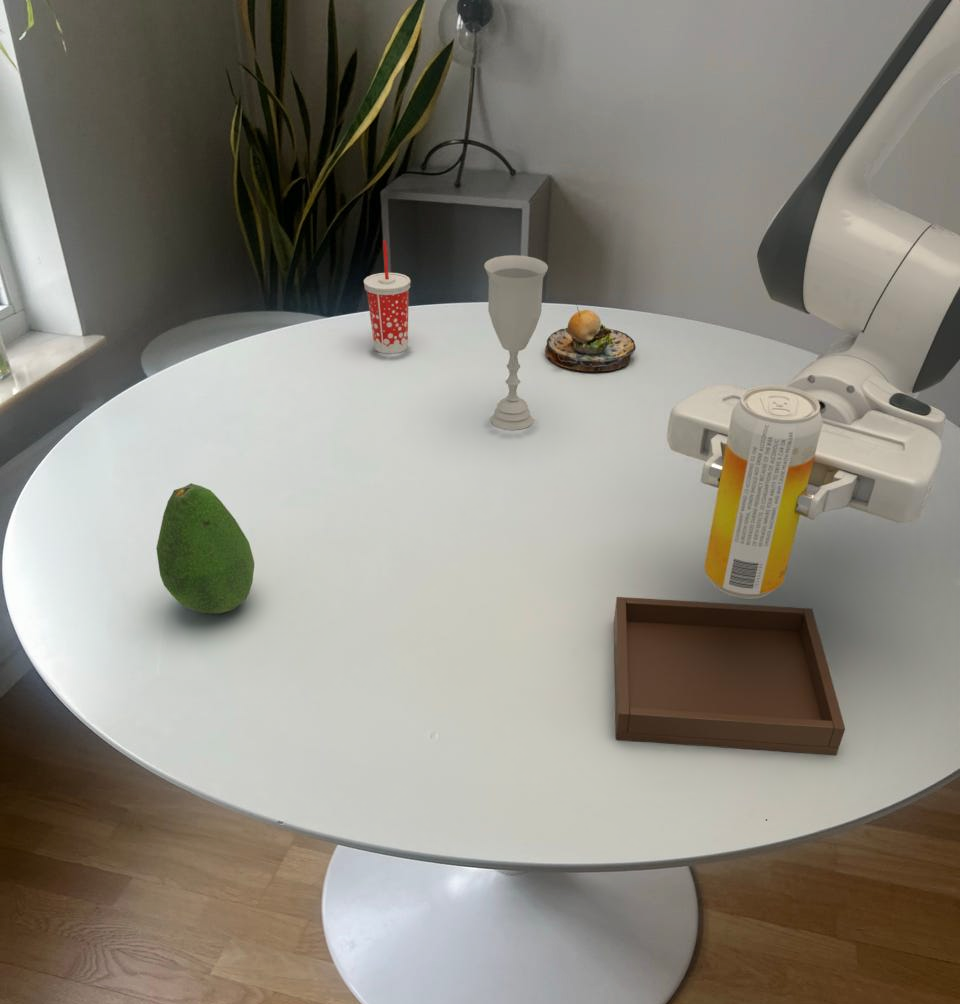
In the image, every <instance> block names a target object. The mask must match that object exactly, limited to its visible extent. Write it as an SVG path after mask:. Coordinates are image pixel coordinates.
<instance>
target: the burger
mask: <svg viewBox="0 0 960 1004" xmlns="http://www.w3.org/2000/svg"><path fill="white" fill-rule="evenodd" d="M575 304H576V308H577V312H575V313H574V314H572V316H571V317H570V319H569V321H568V324H567V327H565V328H560V329H558V330H556V331H555V332H553V333H551V335H549V337H548V338H547V340H546V345H545V356H546V357H547V358H550V361H551V362H552V363H553V364H555V365H558V366H560V367H562V368H566V369H570V370H575V371H582V372H610V371H615V370H619V369H621V368H622V367H626V366H628V365H629V363H630V361H631V360H630V359H631V358H632V355H633V353H634V352H635V351H636V349H637V347H636V343H635V340H634V339H633V338H632V337H631V336H629V335H628V334H627V333H625V332H623V331H620V330H617V329H612V328H607V327H606V326H605V325H604V324H602V321H601V319H600V315H598V314H597V313H596V312H594V311H592V310H590V309H583V310H579V308H578V304H577V303H575Z"/></svg>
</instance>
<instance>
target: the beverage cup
mask: <svg viewBox="0 0 960 1004" xmlns="http://www.w3.org/2000/svg"><path fill="white" fill-rule="evenodd" d="M382 247H383V249H382V250H383V264H384V265H383V267H384V272H379V273H374V274H371V275H368V276H366V277H365V278H364V279H363V285H364V290H365V291H366V295H367V303H368V310H369V318H370V325H371V326H370V327H371V332H372V342H373V347H374V350H375V351H376V352H379V353H382V354H389V355H390V354H391V355H392V354H398V353H399V354H400V353H402V352H404V351H406V350H407V349H408V347H409V298H410V297H409V296H410V295H409V294H410V288H411V283H412V282H411V281H412V280H411V278H410V277H409V276H407V275H406V274H402V273H398V272H389V259H388V257H389V256H388V240H386V239H384V240H382Z"/></svg>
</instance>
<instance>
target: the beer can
mask: <svg viewBox="0 0 960 1004" xmlns="http://www.w3.org/2000/svg"><path fill="white" fill-rule="evenodd" d="M821 428H822V418H821V414H820V404H819V402H818V401H817V399H816V398H814V397H813V396H812V395H810V394H808V393H806V392H804V391H801V390H799V389H795V388H791V387H786V386H785V385H776V384H775V385H773V384H771V385H770V384H767V385H759V386H755V387H751V388H747V391H745V392H744V393H743V394H742V396H741V399H740V400H739V402H738V403H737V404H736V406H735V407H734V408H733V410H732V415H731V421H730V426H729V432H728V438H727V443H726V449H725V454H724V460H723V465H722V471H721V477H720V482H719V488H717V495H716V498H715V506H714V511H713V515H712V522H711V527H710V532H709V538H708V545H707V550H706V555H705V561H704V571H705V574H706V576H707V577H708V578H709V580H710V582H711V583H712V585H713V586H714V587H715V588H716V589H717V590H719V591H720V592H722V593H723V594H726V595H728V596H731V597H734V598H739V599H747V600H749V599H750V600H751V599H759V598H763V597H766V596H768V595H770V594H771V593H772V592H773V591H775V590H777V589H778V588H779V587H780V586H782V584H783V583H784V581H785V577H786V573H787V570H788V569H787V568H788V566H789V562H790V557H791V553H792V549H793V545H794V541H795V537H796V533H797V528H798V524H799V521H800V516H801V515H799V514H796V513H795V508H796V507H797V506H798V504H797V500H798V497H799V495H800V494H801V492H803V491H804V490H805V489H806V487H807V484H808V480H809V476H810V472H811V468H812V464H813V460H814V456H815V452H816V448H817V444H818V440H819V436H820V432H821Z"/></svg>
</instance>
